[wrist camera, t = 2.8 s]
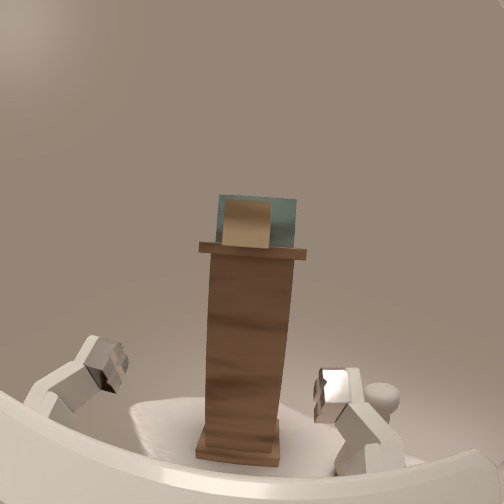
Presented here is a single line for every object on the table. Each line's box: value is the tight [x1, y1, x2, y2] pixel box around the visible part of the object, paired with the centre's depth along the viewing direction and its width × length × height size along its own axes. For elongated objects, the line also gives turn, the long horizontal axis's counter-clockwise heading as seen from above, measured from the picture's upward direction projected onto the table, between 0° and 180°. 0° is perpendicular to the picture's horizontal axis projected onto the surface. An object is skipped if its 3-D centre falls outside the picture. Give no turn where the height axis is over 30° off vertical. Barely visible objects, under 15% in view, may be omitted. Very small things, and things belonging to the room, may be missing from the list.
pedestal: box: [196, 242, 307, 467], centre depth 32 cm, size 9×10×26 cm
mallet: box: [216, 195, 297, 249], centre depth 27 cm, size 17×8×5 cm, turn 176°
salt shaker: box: [334, 383, 400, 476], centre depth 25 cm, size 6×6×13 cm
